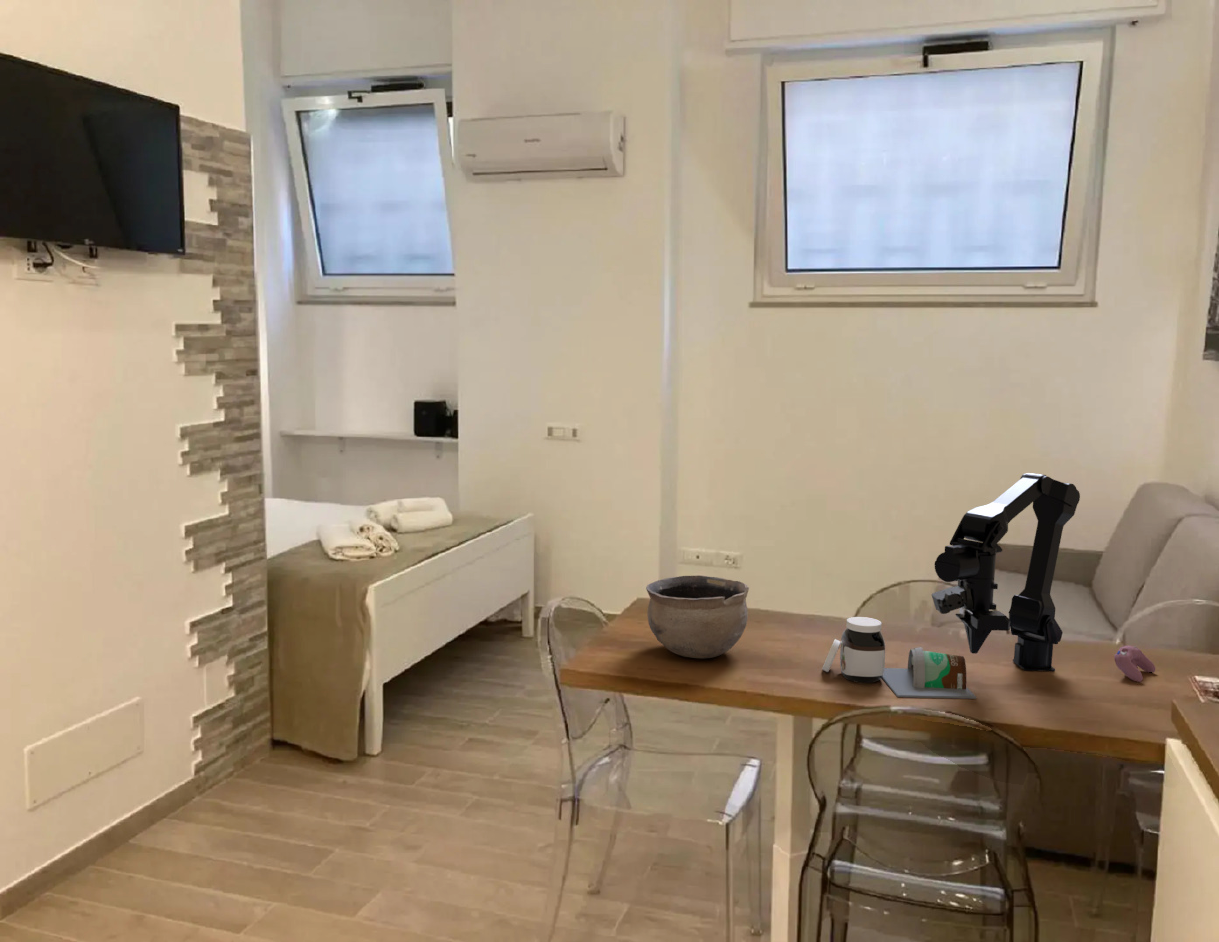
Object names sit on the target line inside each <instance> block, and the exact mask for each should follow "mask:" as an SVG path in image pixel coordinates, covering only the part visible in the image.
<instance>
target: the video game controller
mask: <svg viewBox="0 0 1219 942" xmlns="http://www.w3.org/2000/svg"><path fill="white" fill-rule="evenodd" d="M1113 657H1114V662H1115V665H1116V667H1117V668H1118V669H1119V670H1120V671H1121V672H1122V673H1123V674H1124V675H1125V676H1126V677H1127V678H1128V679H1130V680H1131V681H1134V682H1135V681H1137V682H1136V683H1141V682H1142V681H1143V679H1144V678H1143V674H1142V672H1141V671H1140V670H1139V669H1141V670H1143V671H1144V672H1146V673H1149V672H1153V673H1155V671H1156V666H1155V664H1154V662H1153V661H1152V660H1150V659H1149V658H1148V657H1147V656H1146V654H1144V653H1143V652H1142V650H1141V649H1140V648H1139V647H1138V646H1137V645H1134V646H1132V645H1123V646H1121V647H1120V648H1119V649H1118V650H1117V652H1116V653H1115V654H1114V656H1113ZM1138 668H1139V669H1138Z"/></svg>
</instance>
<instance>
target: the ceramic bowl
mask: <svg viewBox="0 0 1219 942" xmlns="http://www.w3.org/2000/svg"><path fill="white" fill-rule="evenodd" d="M645 590H646V592H647V594H648V596H649V598H650V599H649V601H648V604H647V605H648V606H647V622H648V626H649V628H650V630H651V632H652V633H653V635H654V636H655V638H656V639H657V641H658V642H660V644H662V646H663V647H665V648H666V649H667V650H668V651H670V652H672V653H673V654H676V655H678V656H681V657H684V658H691V659H711V658H716V657H719V656H721V655H723V654H725V653H726V652H728V651H730V650H731V649H732V648H733V647H734V646H735V645H736V644H737V642H738V641H739V640H740V638H741V637H742V635H743V634H744V632H745V629H746V627H747V624H748V623H747V622H748V615H749V614H748V606H747V601H746V600H747V597H748V592H749V590H750V587H749V586H748V584H746V583H743V582H741V581H738V580H733V579H726V578H723V577H717V576H716V577H714V576H708V575H681V576H671V577H667V578H663V579H658V580H656V581H654V582H650V583H649V584H648V583H647V585H646V588H645Z"/></svg>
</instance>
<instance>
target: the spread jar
mask: <svg viewBox="0 0 1219 942" xmlns="http://www.w3.org/2000/svg"><path fill="white" fill-rule="evenodd" d="M882 624H883V623H882V621H880V620H878V619H876V618H872V617H866V616H852V617H848V618H847V619H846V628H845V629H844V630H843V632H842V634H841V639H840V640H838V639H837V638H835V639H834V640H833V643H832V645H831V646H830V649H829V651H828V653H827V656H826V657H825V658H826V659H825V661H824V663H823V666H822V667H821V670H822V671H824V672H826V673H829V672H830V669H831V667H832V665H833V662H834V659H836V656H837V653H838V650H839V649H840V651H839V655H840V656H839V664H840V665H839V666H840V671H841V674H842V676H843V677H844V678H845V679H846V680H847V681H848V680H849V681H851V682H853V683H861V684H870V683H871V684H872V683H876V682H878V681H880V680H881V679H882V677H883V674H884V668H886V666H885V664H886V663H885V662H886V642H885V639H884V636H883V634H882V627H883V625H882Z"/></svg>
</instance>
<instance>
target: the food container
mask: <svg viewBox="0 0 1219 942" xmlns="http://www.w3.org/2000/svg"><path fill="white" fill-rule="evenodd" d="M907 668H908V669H912V670H913V687H918V688H924V687H929V688H949V689H966V687H967V665H966V660H965V657H964V656H962V655H955V654H948V653H942V652H935V651H929V650H928V651H927V650H924V649H923V647H921V646H920V647H914V648H912V649H910V650H909V653H908V659H907Z"/></svg>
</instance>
